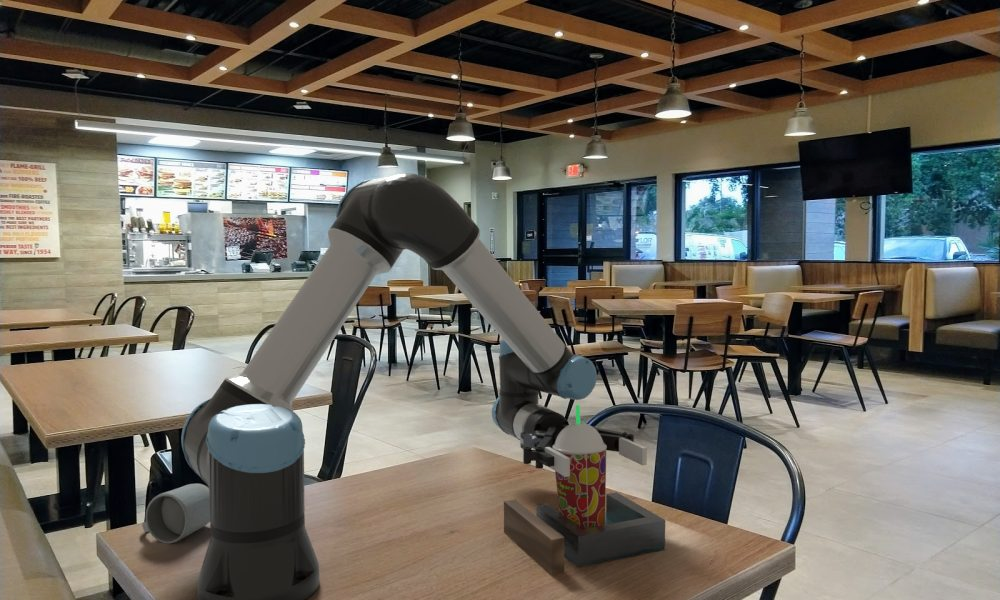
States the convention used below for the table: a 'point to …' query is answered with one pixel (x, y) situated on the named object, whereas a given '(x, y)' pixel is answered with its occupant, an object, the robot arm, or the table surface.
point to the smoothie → (582, 474)
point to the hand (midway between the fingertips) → (607, 462)
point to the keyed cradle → (608, 532)
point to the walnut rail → (534, 536)
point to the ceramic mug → (178, 513)
